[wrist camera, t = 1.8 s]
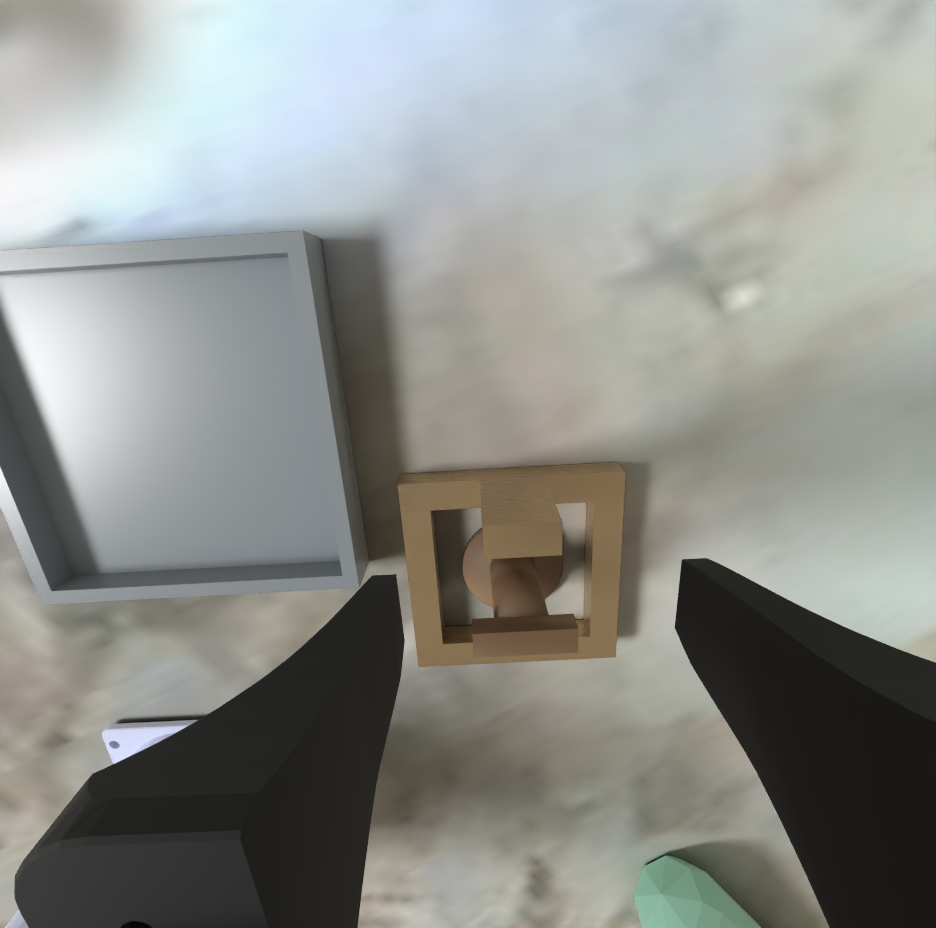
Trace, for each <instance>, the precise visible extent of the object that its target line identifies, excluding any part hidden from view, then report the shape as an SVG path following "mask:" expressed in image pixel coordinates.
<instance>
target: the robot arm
mask: <svg viewBox="0 0 936 928" xmlns="http://www.w3.org/2000/svg"><path fill="white" fill-rule="evenodd" d="M675 629H676V631H677V634H678V636H679V638H680V641H681V643H682V645H683V648H684V650H685V652H686V654H687V656H688V658H689V660H690V663H691V665H692V666H693V668H694V670H695V671H696V673H697V675H698V676H699V678H700V680H701V681H702V683H703V685H704V686H705V688H706V690H707V691H708V693H709V694H710V696H711V698H712V699H713V701H714V702H715V704H716V706H717V707H718V709H719V710H720V712H721V714H722V715H723V717H724V719H725V720H726V722H727V723H728V725H729V727H730V728H731V730H732V731H733V733H734V735H735V736H736V738H737V739H738V741H739V743H740V744H741V746H742V747H743V749H744V751H745V752H746V754H747V756H748V758H749V759H750V761H751V763H752V765H753V766H754V768H755V770H756V772H757V774H758V776H759V778H760V780H761V782H762V784H763V786H764V788H765V790H766V792H767V794H768V796H769V798H770V800H771V802H772V804H773V806H774V808H775V810H776V812H777V814H778V816H779V818H780V820H781V822H782V824H783V826H784V828H785V830H786V832H787V835H788V837H789V839H790V841H791V843H792V845H793V847H794V849H795V852H796V854H797V856H798V858H799V860H800V862H801V864H802V866H803V869H804V871H805V873H806V875H807V877H808V880H809V882H810V884H811V886H812V889H813V891H814V893H815V895H816V898H817V900H818V902H819V904H820V907H821V909H822V911H823V914H824V916H825V918H826V920H827V923H828V925H829V927H830V928H936V663H935V662H932V661H929V660H926V659H923V658H920V657H918V656H915V655H912V654H910V653H907V652H904V651H901V650H899V649H896V648H894V647H891V646H889V645H886V644H884V643H881V642H879V641H876V640H874V639H872V638H869V637H867V636H864V635H862V634H859V633H857V632H855V631H852V630H850V629H848V628H845V627H843V626H841V625H839V624H837V623H835V622H832V621H830V620H828V619H826V618H824V617H822V616H820V615H818V614H815V613H813V612H811V611H809V610H807V609H805V608H803V607H801V606H799V605H797V604H795V603H793V602H791V601H789V600H787V599H785V598H783V597H781V596H780V595H778V594H776V593H774V592H772V591H770V590H768V589H766V588H764V587H762V586H761V585H759V584H757V583H755V582H753V581H751V580H749V579H747V578H746V577H744V576H742V575H740V574H738V573H736V572H734V571H732V570H730V569H728V568H726V567H725V566H723V565H720V564H718V563H716V562H714V561H712V560H709V559H707V558H702V559H683V560H682V564H681V574H680V583H679V593H678V602H677V612H676V622H675ZM403 650H404V633H403V625H402V617H401V609H400V602H399V594H398V586H397V578H396V574H395V575H375V576H371V578H370V579H369V580H368V581H367V582H366V583H365V584H364V585H363V586H362V587H361V588H360V589H359V590H358V591H357V592H356V593H355V595H354V596H353V597H352V598H351V599H350V600H349V601H348V602H347V603H346V604H345V605H344V606H343V607H342V608H341V609H340V611H339V612H338V613H337V614H336V615H335V616H334V617H333V618H332V619H331V620H330V621H329V622H328V623H327V624H326V625H325V626H324V627H323V628H322V629H321V630H319V631H318V632H317V633H316V634H315V635H314V636H313V637H312V638H311V639H310V640H309V641H308V642H307V643H305V644H304V645H303V646H302V647H301V648H300V649H299V650H298V651H297V652H295V653H294V654H293V655H292V656H291V657H289V658H288V659H287V660H286V661H285V662H283V663H282V664H281V665H279V666H278V667H277V668H275V669H274V670H273V671H272V672H270V673H269V674H268V675H266V676H265V677H264V678H262V679H261V680H260V681H258V682H257V683H255V684H254V685H252V686H251V687H249V688H248V689H246V690H245V691H243V692H242V693H240V694H239V695H237V696H236V697H234V698H233V699H231V700H230V701H228V702H227V703H225V704H224V705H222V706H221V707H219V708H218V709H216V710H214V711H213V712H211V713H209V714H208V715H206V716H204V717H203V718H201V719H199V720H184V721H163V722H143V723H122V724H111V725H109V726H107V728H106V729H105V730H104V731H103V733H102V737H103V740H104V742H105V745H106V747H107V749H108V752H109V754H110V757H111V759H112V761H113V765H111V766H109V767H107V768H105V769H102V770H100V771H98V772H96V773H94V774H92V775H91V776H90V778H89V779H88V780H87V781H86V782H85V784H84V785H83V786H82V787H81V789H80V790H79V791H78V792H77V794H76V795H75V796H74V797H73V799H72V800H71V801H70V802H69V804H68V805H67V806H66V807H65V809H64V810H63V811H62V813H61V814H60V815H59V816H58V818H57V819H56V820H55V821H54V823H53V824H52V825H51V826H50V828H49V829H48V830H47V831H46V833H45V834H44V835H43V836H42V838H41V839H40V840H39V841H38V843H37V844H36V845H35V846H34V848H33V849H32V850H31V852H30V853H29V854H28V855H27V857H26V858H25V859H24V860H23V862H22V864H21V866H20V867H19V869H18V871H17V873H16V875H15V889H14V894H15V900H16V903H17V905H18V908H19V909H18V911H17V912H16V913H15V915H14V916H13V918H12V919H11V920H10V922H9V923H8V924H7V926H6V927H5V928H357V927H358V918H359V909H360V901H361V892H362V884H363V876H364V868H365V861H366V853H367V845H368V837H369V830H370V823H371V816H372V809H373V802H374V795H375V788H376V783H377V778H378V772H379V767H380V763H381V759H382V755H383V750H384V746H385V742H386V738H387V734H388V729H389V725H390V721H391V717H392V713H393V708H394V704H395V700H396V695H397V691H398V687H399V682H400V677H401V669H402V660H403Z"/></svg>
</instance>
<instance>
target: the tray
mask: <svg viewBox="0 0 936 928" xmlns="http://www.w3.org/2000/svg"><path fill="white" fill-rule="evenodd" d="M0 506H1V508H2V511H3V513H4V515H5V518H6V520H7V522H8V525H9V527H10V530H11V532H12V534H13V537H14V539H15V541H16V544H17V546H18V548H19V551H20V553H21V556H22V558H23V560H24V563H25V565H26V567H27V570H28V572H29V574H30V577H31V579H32V582H33V584H34V586H35V589H36V591H37V593H38V596H39V598H40V600H41V603H42V604H60V603H78V602H97V601H116V600H135V599H154V598H173V597H192V596H211V595H230V594H249V593H268V592H287V591H306V590H325V589H344V588H359V587H360V584H361V582H362V579H363V576H364V574H365V571H366V568H367V566H368V563H369V559H368V552H367V545H366V539H365V532H364V525H363V518H362V511H361V505H360V498H359V491H358V484H357V478H356V471H355V464H354V457H353V450H352V444H351V437H350V430H349V423H348V416H347V410H346V403H345V396H344V389H343V382H342V376H341V369H340V362H339V355H338V349H337V342H336V335H335V328H334V321H333V315H332V308H331V301H330V294H329V287H328V281H327V274H326V267H325V260H324V254H323V247H322V240H321V238H319V237H316V236H314V235H312V234H309V233H307V232H305V231H289V232H274V233H259V234H244V235H228V236H213V237H198V238H183V239H168V240H153V241H138V242H123V243H108V244H93V245H78V246H63V247H47V248H32V249H17V250H2V251H0Z"/></svg>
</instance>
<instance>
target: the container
mask: <svg viewBox="0 0 936 928" xmlns="http://www.w3.org/2000/svg"><path fill="white" fill-rule="evenodd" d="M634 900H635V903H636V907H637V911H638V914H639V918H640V922H641V925H642V928H761V927H760V926H759V925H758V924H757V923H756V922H755V921H754V920H753V919H752V918H751V917H750V916H749V915H748V914H747V913H746V912H745V911H744V910H743V909H742V908H741V907H740V906H739V905H738V904H737V903H736V902H735V901H734V900H733V899H732V898H731V897H730V896H729V895H728V894H727V893H726V892H725V891H724V890H723V889H722V888H721V887H720V886H719V885H718V884H717V883H716V882H715V881H714V880H713V879H712V878H711V877H710V876H709V875H708V874H707V873H706V872H705V871H703V870H701V869H699V868H697V867H696V866H694V865H692V864H690V863H688V862H686V861H684V860H682V859H681V858H677V857H673V856H664V857H662V858H660V859H658V860H656V861H654V862H652V863H650V864H648V865H646V866H644V867H643V869H642V872H641V875H640V878H639V881H638V884H637V888H636V891H635V894H634Z"/></svg>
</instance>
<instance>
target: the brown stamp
mask: <svg viewBox="0 0 936 928" xmlns="http://www.w3.org/2000/svg"><path fill="white" fill-rule="evenodd" d="M562 569H563V561H562V556H561V555H557V556H538V557H520V558H501V559H484V545H483V531H482V528H481V529H479V530H478V531H477V532H476V533H475V534H474V535H473V536H472V537H471V539H470V540H469V542H468V544H467V546H466V548H465V551H464V555H463V576H464V580H465V582H466V585H467V587H468V588H469V590H470V591H471V593H472V594H473V595H474V596H475V597H476V598H477V599H479V600H480V601H481V602H483V603H485V604H487V605H489V606H491V607H493V611H494V618H483V619H472V636H473V651H474V658H481V657H501V656H521V655H542V654H562V653H578V626H577V623H576V620H575V617H574V614H560V615H548V611H547V608H546V604H545V600H544V599H546V598H547V597H548V596H549V595H550V594H551V593H552V592H553V591H554V589H555V588H556V586H557V585H558V583H559V581H560V578H561V575H562Z"/></svg>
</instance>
